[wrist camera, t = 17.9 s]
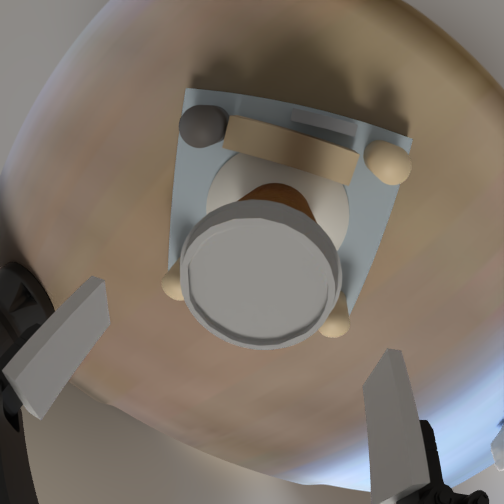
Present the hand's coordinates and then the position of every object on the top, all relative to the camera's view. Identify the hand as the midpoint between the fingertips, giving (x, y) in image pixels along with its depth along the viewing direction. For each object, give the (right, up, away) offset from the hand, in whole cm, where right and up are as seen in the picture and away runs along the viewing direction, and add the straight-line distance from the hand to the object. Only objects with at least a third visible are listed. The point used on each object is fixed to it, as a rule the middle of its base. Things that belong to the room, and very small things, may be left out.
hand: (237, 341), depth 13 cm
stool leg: (+2, +13, +11) cm, 17 cm away
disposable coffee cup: (+3, +7, +14) cm, 16 cm away
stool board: (+3, +8, +15) cm, 18 cm away
